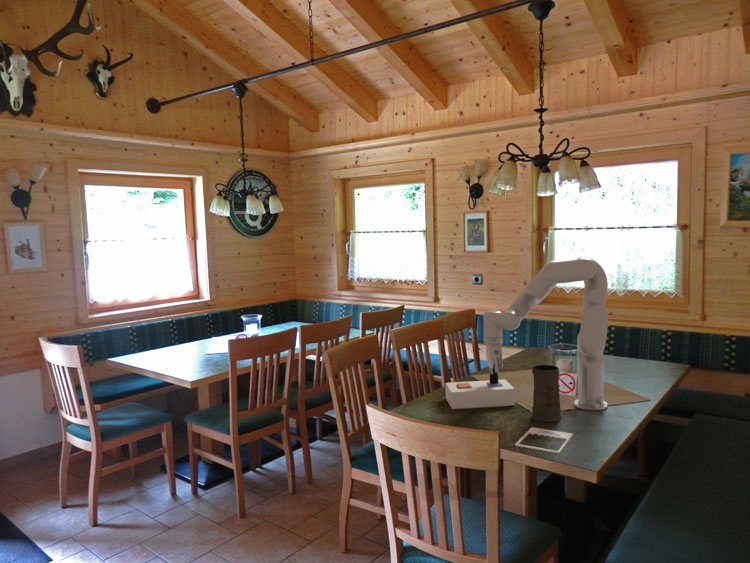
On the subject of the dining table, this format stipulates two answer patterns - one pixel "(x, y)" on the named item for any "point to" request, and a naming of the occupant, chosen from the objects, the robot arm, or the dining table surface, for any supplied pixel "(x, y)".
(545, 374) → the beer stein
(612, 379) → the dining table surface
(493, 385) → the blue key
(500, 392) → the key console
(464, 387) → the red key
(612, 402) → the dining table surface
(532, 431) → the photo frame
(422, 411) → the dining table surface
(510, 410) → the dining table surface
